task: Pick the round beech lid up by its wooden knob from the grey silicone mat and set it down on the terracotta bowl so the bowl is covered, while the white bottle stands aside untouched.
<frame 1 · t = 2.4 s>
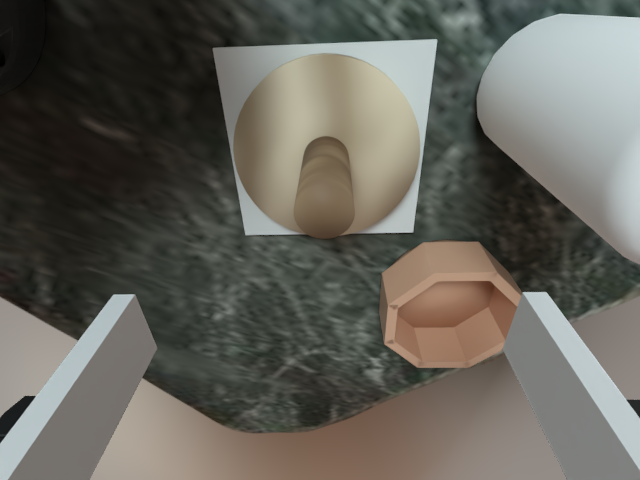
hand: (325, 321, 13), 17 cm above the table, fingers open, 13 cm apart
lid: (326, 152, 26), resting on mat
mat: (326, 150, 27), on the table
white bottle: (534, 86, 24), on the table
bowl: (438, 284, 33), on the table
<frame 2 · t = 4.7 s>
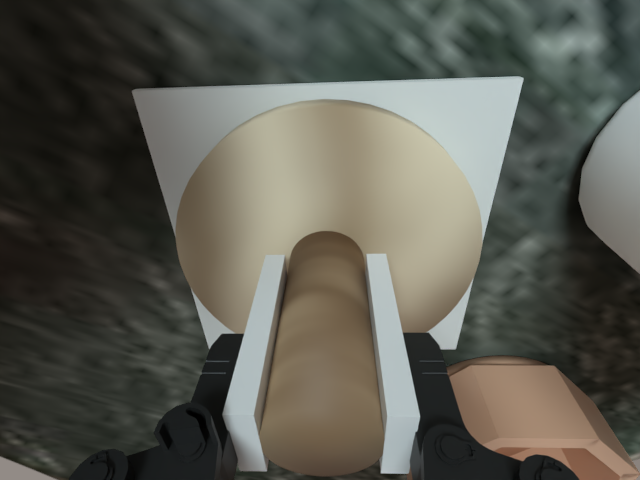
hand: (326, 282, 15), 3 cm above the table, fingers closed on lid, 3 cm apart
lid: (327, 246, 17), resting on mat, touching gripper
mat: (327, 242, 17), on the table
bowl: (485, 406, 24), on the table
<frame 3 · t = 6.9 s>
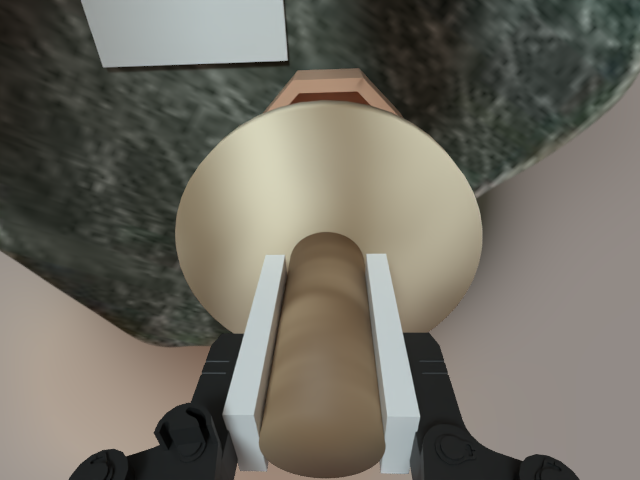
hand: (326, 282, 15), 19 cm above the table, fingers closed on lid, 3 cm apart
lid: (327, 247, 17), point 16 cm above the table, touching gripper
bowl: (329, 138, 30), on the table
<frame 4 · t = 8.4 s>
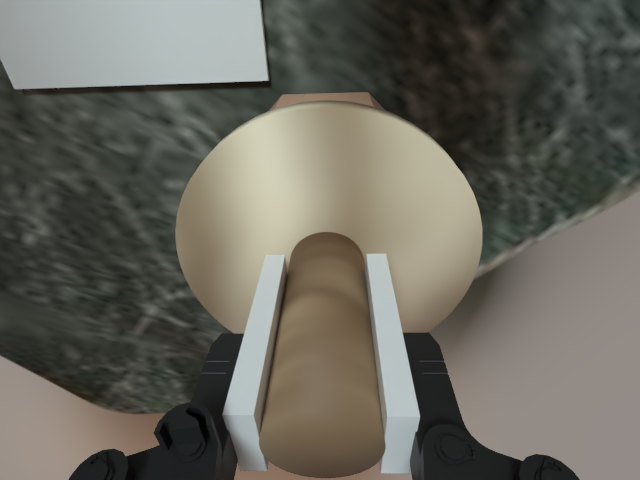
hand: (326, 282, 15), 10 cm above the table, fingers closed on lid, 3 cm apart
lid: (327, 247, 17), point 7 cm above the table, touching gripper
bowl: (327, 181, 23), on the table
when the fingers open (9 cm above the table, at t = 9.3 s): lid drops 1 cm, resting on bowl.
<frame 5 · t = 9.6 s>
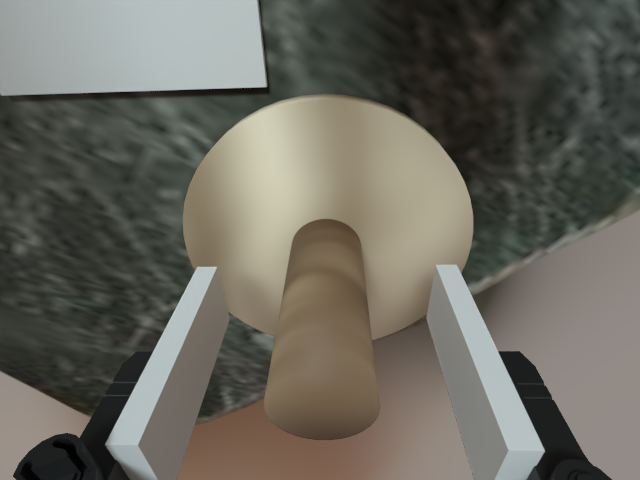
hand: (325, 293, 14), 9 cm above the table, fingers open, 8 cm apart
lid: (326, 235, 18), point 5 cm above the table, touching bowl
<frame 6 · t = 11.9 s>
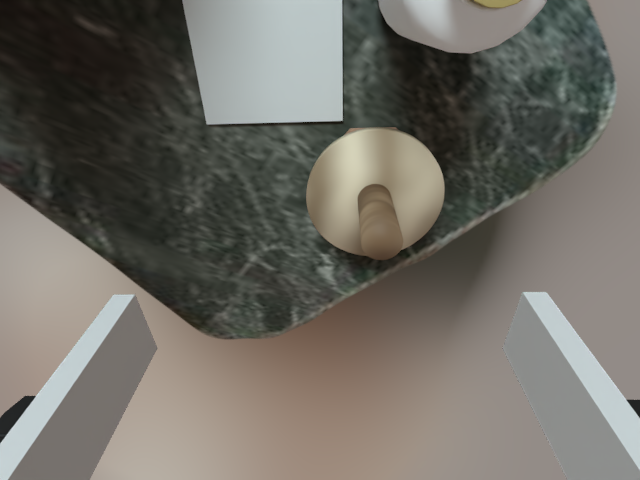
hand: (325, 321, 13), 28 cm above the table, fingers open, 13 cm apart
lid: (373, 194, 35), point 5 cm above the table, touching bowl
mat: (266, 44, 33), on the table
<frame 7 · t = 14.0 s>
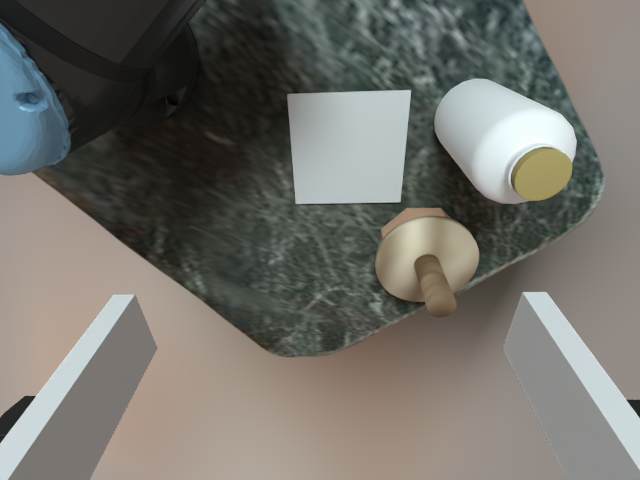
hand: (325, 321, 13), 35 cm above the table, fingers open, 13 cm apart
lid: (424, 258, 47), point 5 cm above the table, touching bowl
mat: (348, 151, 45), on the table
white bottle: (467, 114, 42), on the table
bowl: (417, 238, 52), on the table
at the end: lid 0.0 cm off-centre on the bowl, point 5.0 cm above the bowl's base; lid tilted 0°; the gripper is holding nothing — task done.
